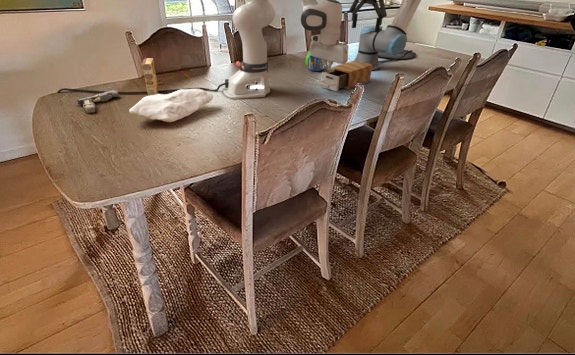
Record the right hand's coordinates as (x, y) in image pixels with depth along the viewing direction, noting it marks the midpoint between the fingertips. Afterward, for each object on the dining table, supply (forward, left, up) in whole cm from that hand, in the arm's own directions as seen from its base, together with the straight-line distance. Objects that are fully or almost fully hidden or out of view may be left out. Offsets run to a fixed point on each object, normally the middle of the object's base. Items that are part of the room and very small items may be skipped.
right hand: (365, 30), depth 183 cm
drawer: (+18, -7, -25) cm, 32 cm away
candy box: (+70, -78, -26) cm, 108 cm away
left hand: (+27, -10, -14) cm, 32 cm away
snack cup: (-6, -26, -26) cm, 37 cm away
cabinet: (+6, -2, -26) cm, 27 cm away
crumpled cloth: (+83, -57, -26) cm, 104 cm away
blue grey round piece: (-70, +4, -26) cm, 75 cm away
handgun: (+89, -90, -26) cm, 129 cm away
